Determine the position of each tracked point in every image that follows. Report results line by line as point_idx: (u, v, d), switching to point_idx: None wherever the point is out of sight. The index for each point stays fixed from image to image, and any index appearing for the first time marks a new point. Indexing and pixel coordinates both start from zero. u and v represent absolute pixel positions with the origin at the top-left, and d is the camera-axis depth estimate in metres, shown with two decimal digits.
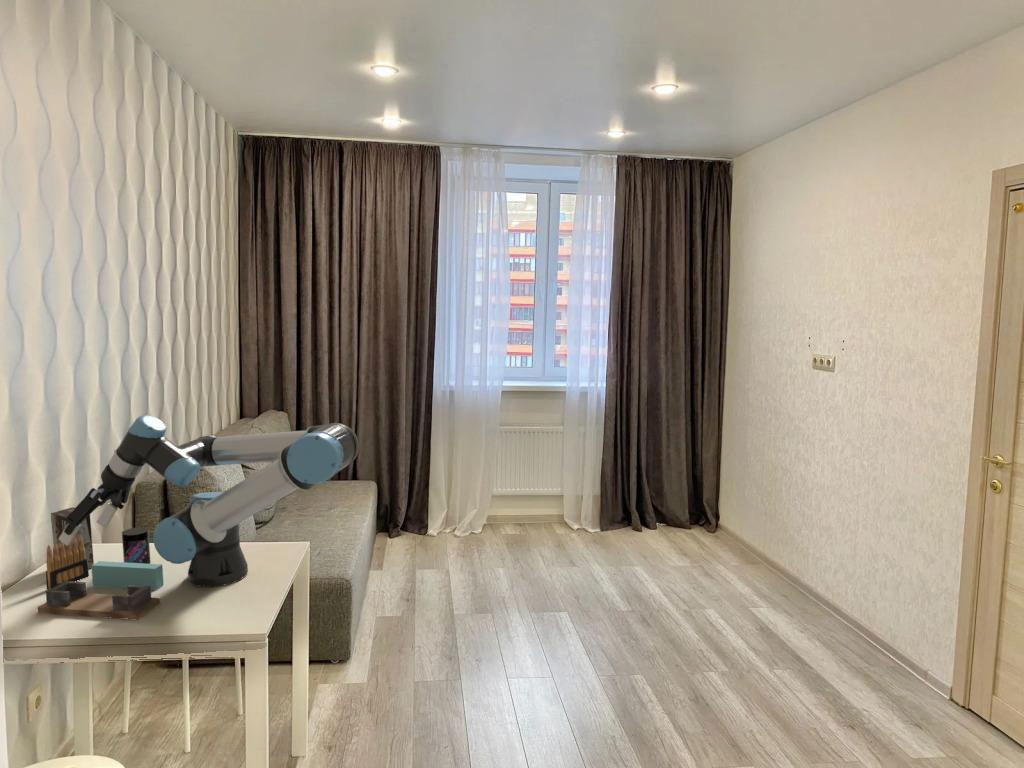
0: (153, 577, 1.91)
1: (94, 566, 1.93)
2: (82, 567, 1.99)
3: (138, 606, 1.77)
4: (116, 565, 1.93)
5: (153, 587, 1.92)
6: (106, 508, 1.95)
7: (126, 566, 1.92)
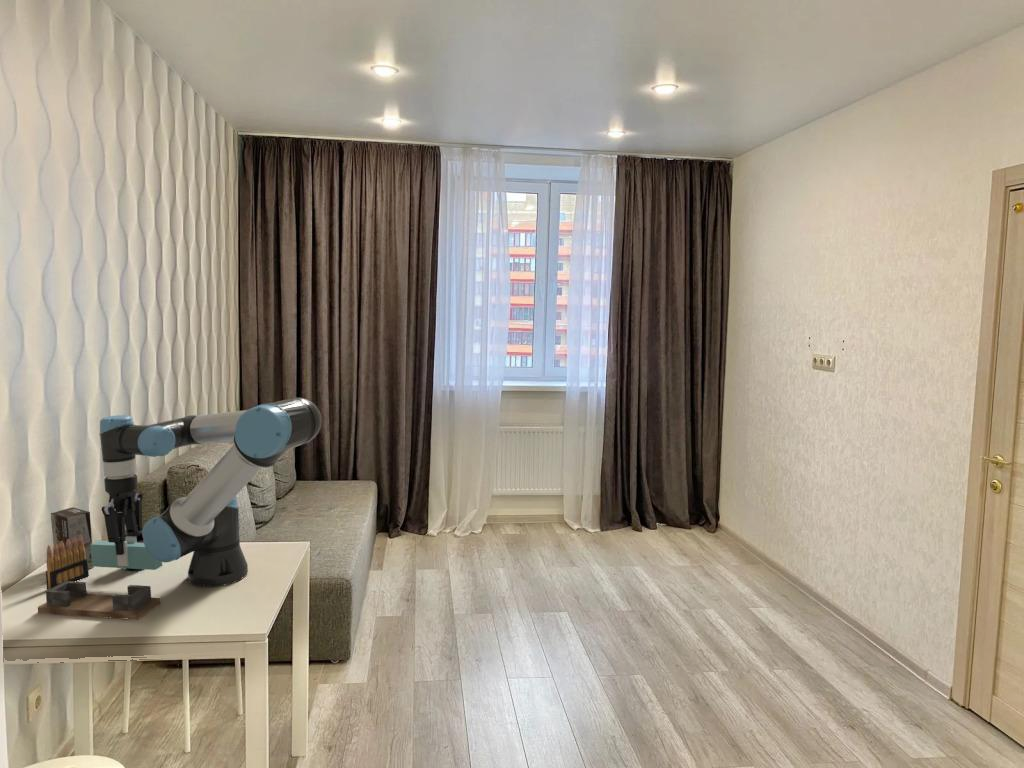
0: (151, 556, 1.90)
1: (93, 545, 1.92)
2: (82, 567, 1.99)
3: (138, 606, 1.77)
4: None
5: (152, 566, 1.90)
6: (126, 542, 1.94)
7: None
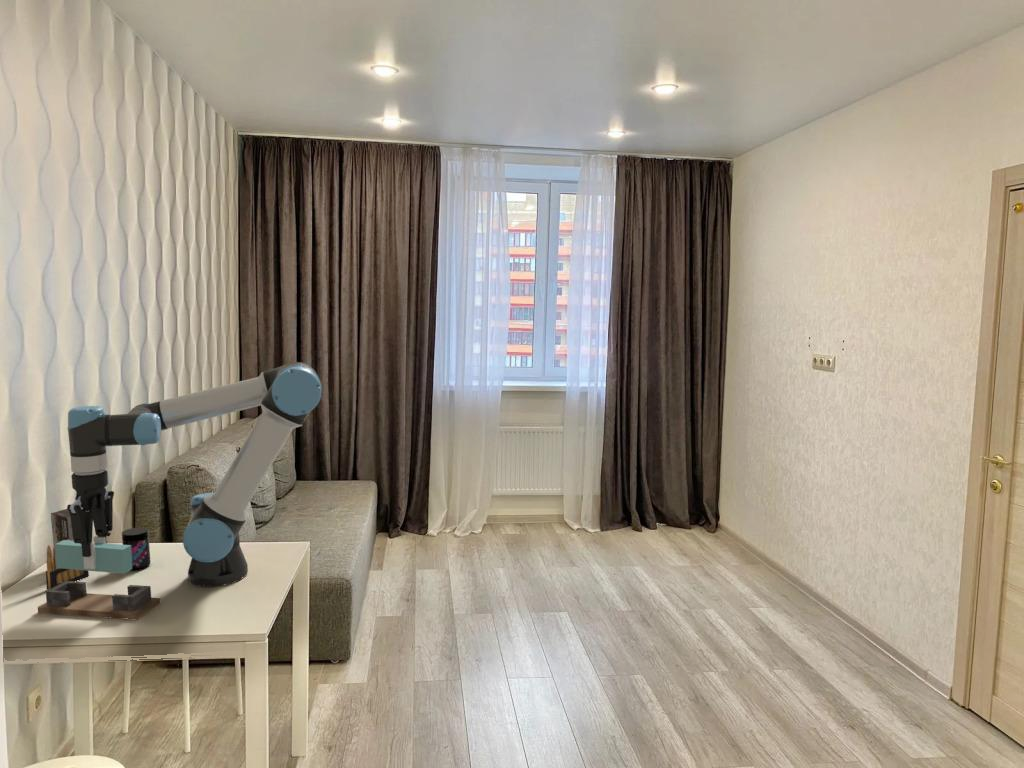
0: (120, 558, 1.76)
1: (58, 545, 1.78)
2: None
3: (138, 606, 1.77)
4: None
5: (120, 570, 1.77)
6: None
7: None
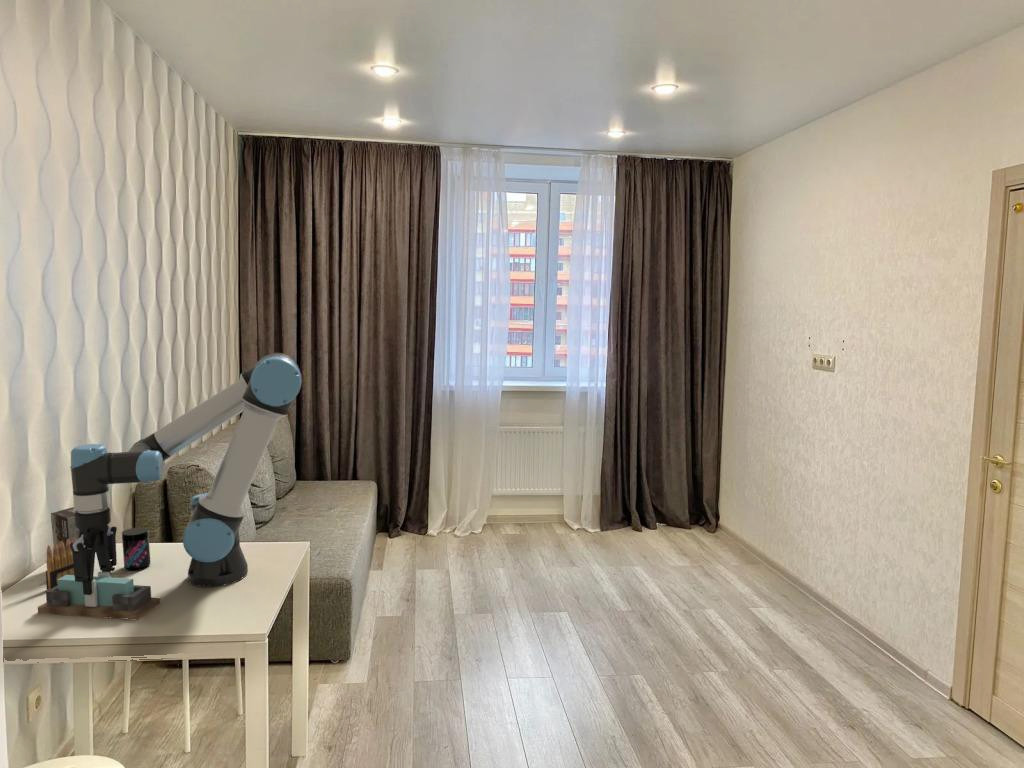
0: (123, 592, 1.77)
1: (60, 580, 1.79)
2: None
3: (138, 606, 1.77)
4: None
5: None
6: None
7: None
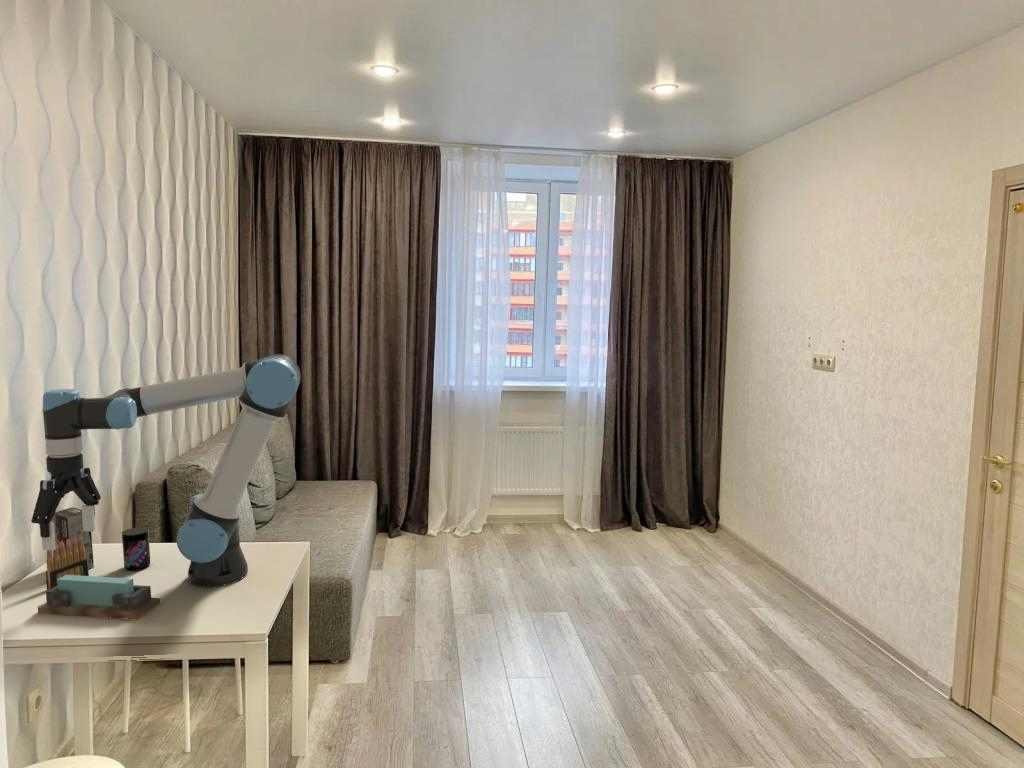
0: (123, 592, 1.77)
1: (60, 580, 1.79)
2: (82, 567, 1.99)
3: (138, 606, 1.77)
4: (84, 579, 1.79)
5: None
6: (83, 511, 1.85)
7: (94, 581, 1.78)
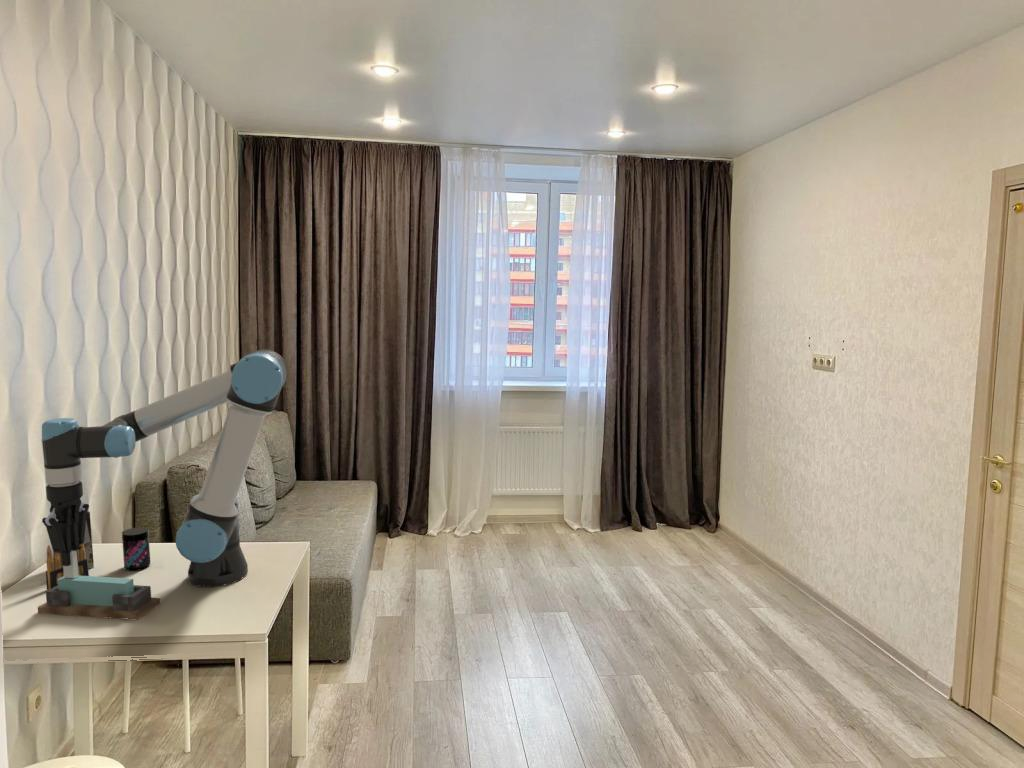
0: (123, 592, 1.77)
1: (60, 580, 1.79)
2: (82, 567, 1.99)
3: (138, 606, 1.77)
4: (84, 579, 1.79)
5: None
6: None
7: (94, 581, 1.78)
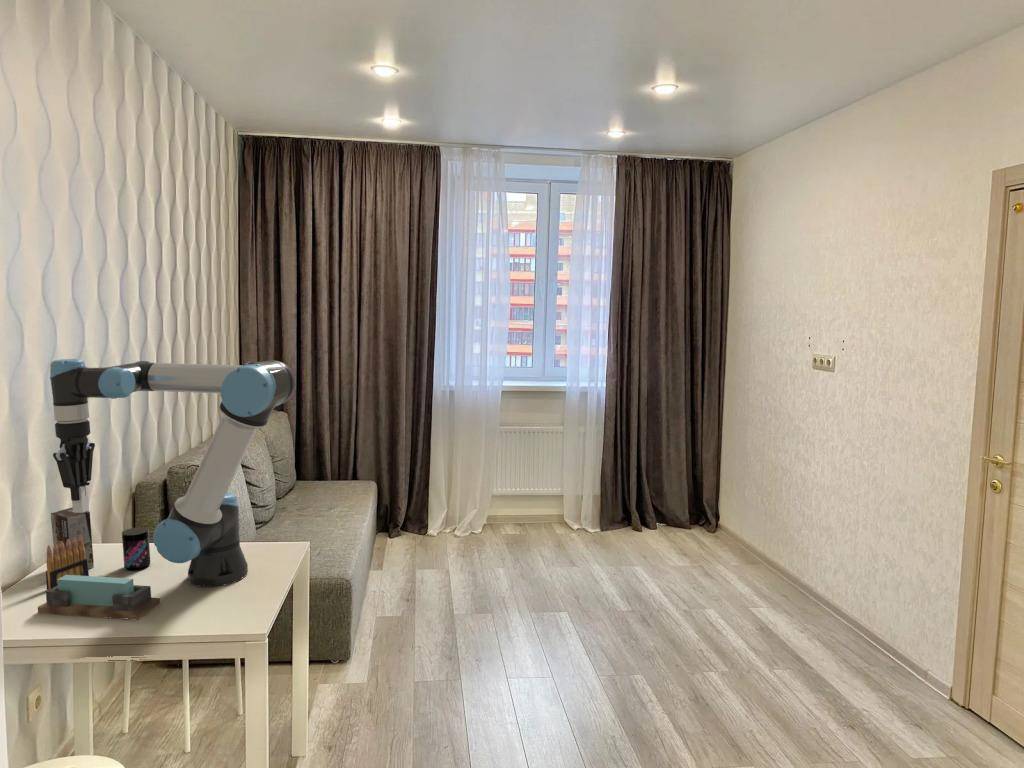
0: (123, 592, 1.77)
1: (60, 580, 1.79)
2: (82, 567, 1.99)
3: (138, 606, 1.77)
4: (84, 579, 1.79)
5: None
6: None
7: (94, 581, 1.78)
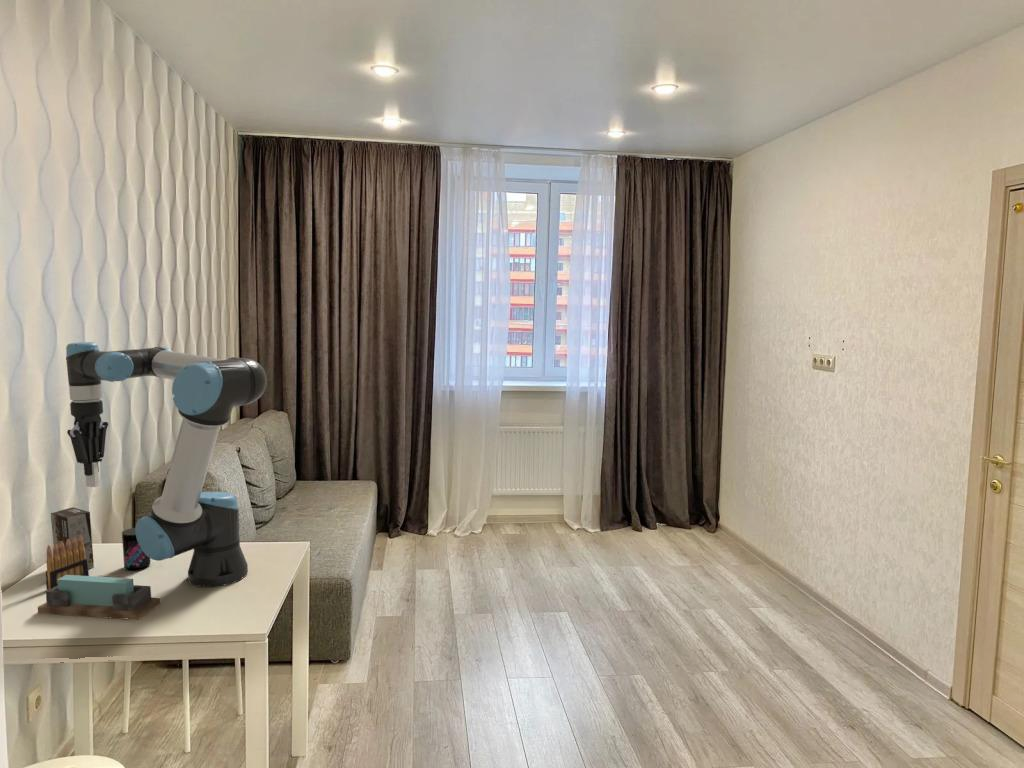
0: (123, 592, 1.77)
1: (60, 580, 1.79)
2: (82, 567, 1.99)
3: (138, 606, 1.77)
4: (84, 579, 1.79)
5: None
6: None
7: (94, 581, 1.78)
